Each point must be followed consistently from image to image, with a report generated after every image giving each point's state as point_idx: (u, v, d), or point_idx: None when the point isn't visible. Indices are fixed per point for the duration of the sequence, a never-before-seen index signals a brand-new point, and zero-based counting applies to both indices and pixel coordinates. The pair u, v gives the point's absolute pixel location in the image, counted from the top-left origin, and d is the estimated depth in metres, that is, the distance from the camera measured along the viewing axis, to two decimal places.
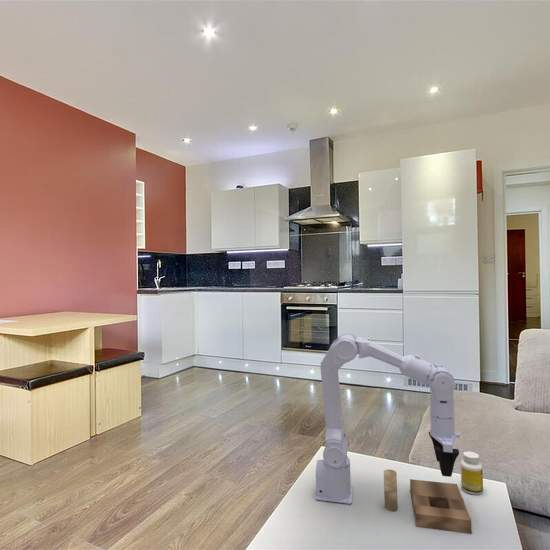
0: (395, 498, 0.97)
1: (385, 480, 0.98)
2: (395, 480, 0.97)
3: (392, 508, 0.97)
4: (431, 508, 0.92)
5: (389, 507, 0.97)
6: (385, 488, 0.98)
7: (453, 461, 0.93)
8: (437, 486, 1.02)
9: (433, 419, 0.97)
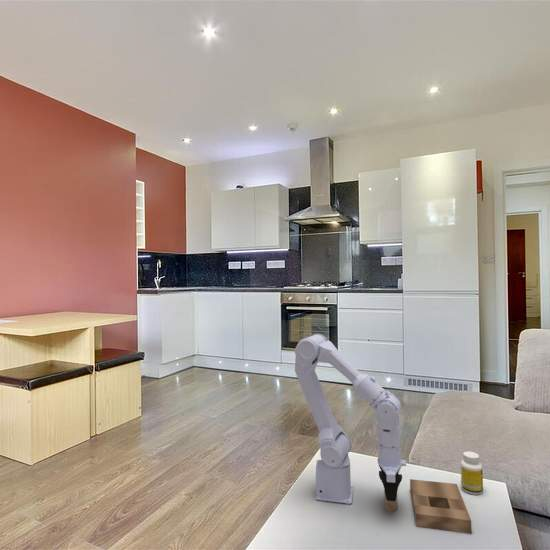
0: None
1: None
2: None
3: (392, 508, 0.97)
4: (431, 508, 0.92)
5: (389, 507, 0.97)
6: None
7: (396, 486, 0.95)
8: (437, 486, 1.02)
9: (380, 447, 0.97)
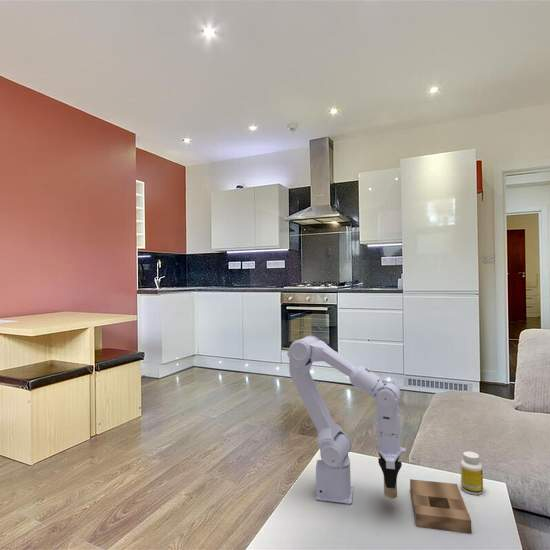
0: None
1: None
2: None
3: (391, 495, 0.97)
4: (431, 508, 0.92)
5: (388, 494, 0.97)
6: None
7: (396, 473, 0.95)
8: (437, 486, 1.02)
9: (379, 435, 0.98)
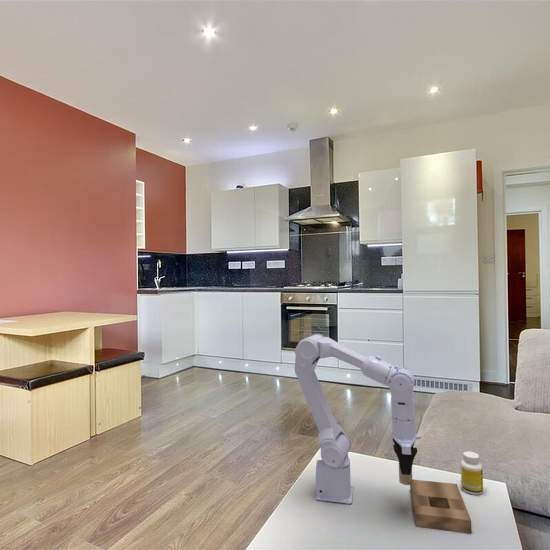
0: None
1: None
2: None
3: (407, 482, 0.96)
4: (431, 508, 0.92)
5: (404, 481, 0.96)
6: None
7: (412, 459, 0.94)
8: (437, 486, 1.02)
9: (394, 421, 0.96)
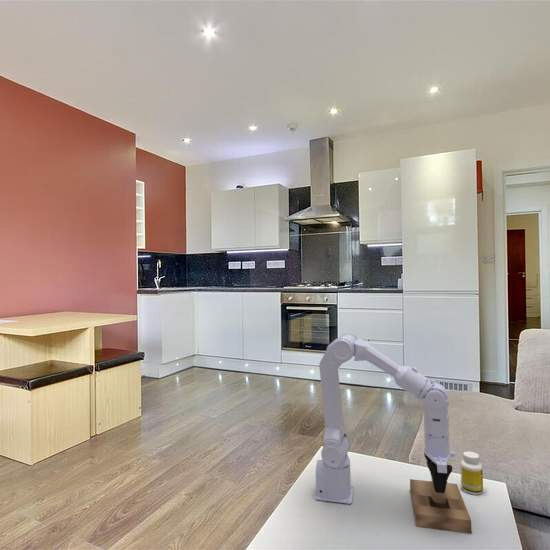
0: None
1: None
2: None
3: (441, 500, 0.93)
4: (431, 508, 0.92)
5: (437, 499, 0.94)
6: None
7: (446, 477, 0.92)
8: None
9: (427, 437, 0.94)
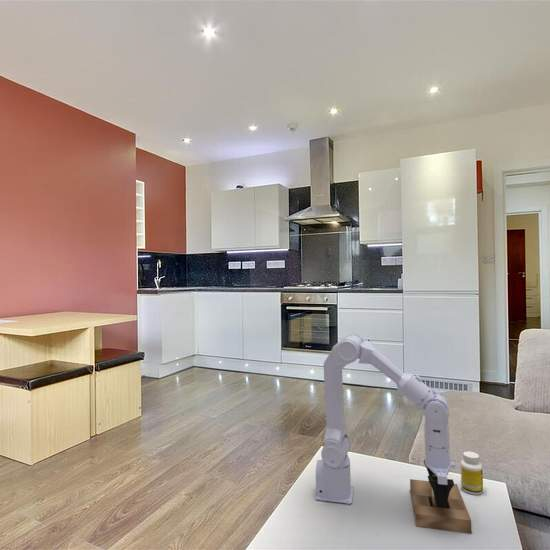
0: None
1: None
2: None
3: None
4: (431, 508, 0.92)
5: None
6: (433, 494, 0.94)
7: (448, 492, 0.90)
8: None
9: (427, 448, 0.94)
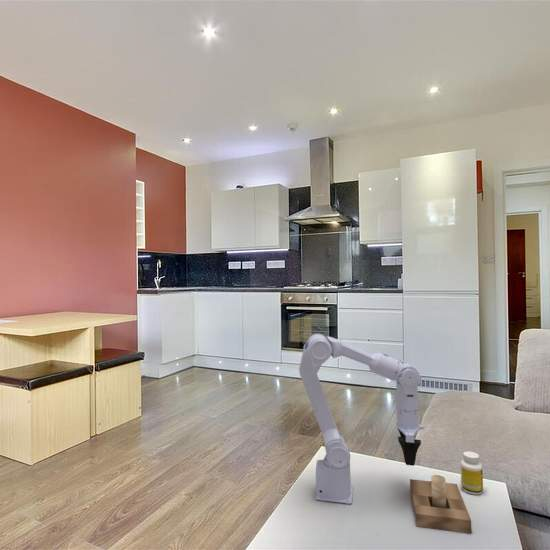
0: (444, 505, 0.93)
1: (433, 486, 0.94)
2: (444, 486, 0.94)
3: None
4: (431, 508, 0.92)
5: None
6: (433, 494, 0.94)
7: (415, 451, 0.99)
8: None
9: (398, 412, 1.03)
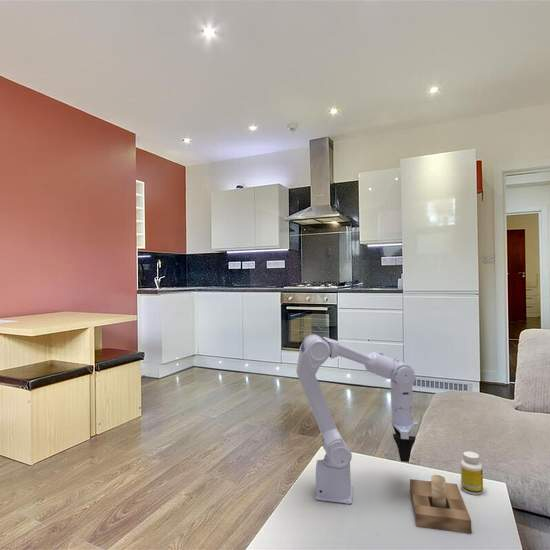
0: (444, 505, 0.93)
1: (433, 486, 0.94)
2: (444, 486, 0.94)
3: None
4: (431, 508, 0.92)
5: None
6: (433, 494, 0.94)
7: (410, 447, 1.01)
8: None
9: (393, 409, 1.05)
